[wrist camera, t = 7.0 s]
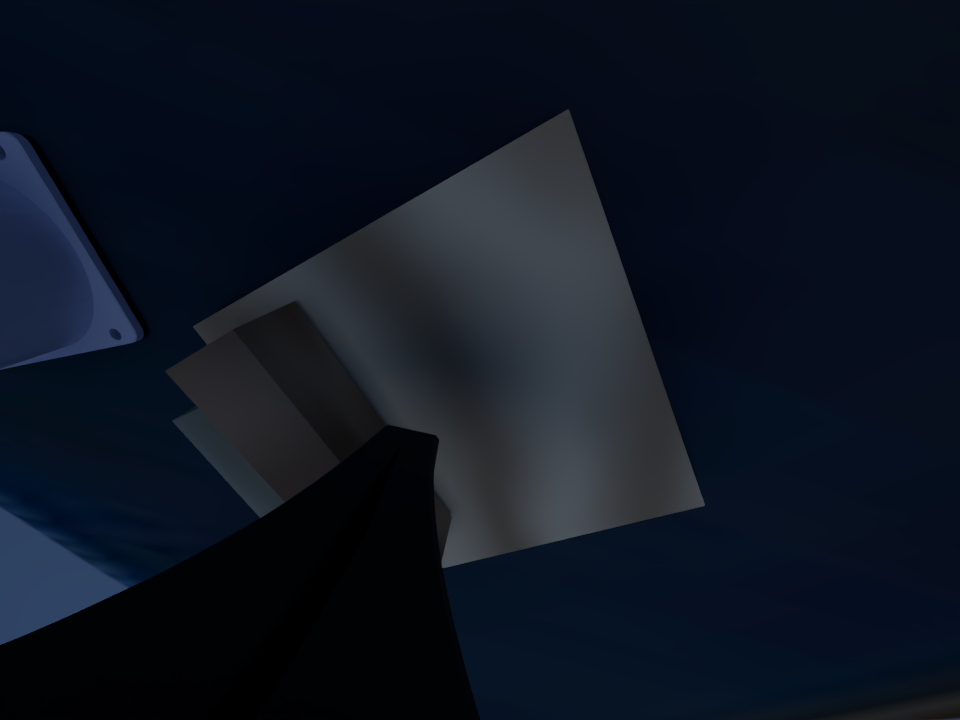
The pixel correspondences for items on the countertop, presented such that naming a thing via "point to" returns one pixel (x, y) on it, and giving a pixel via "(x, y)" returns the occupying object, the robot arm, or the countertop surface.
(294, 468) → the stool leg
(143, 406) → the countertop surface
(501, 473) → the stool seat
